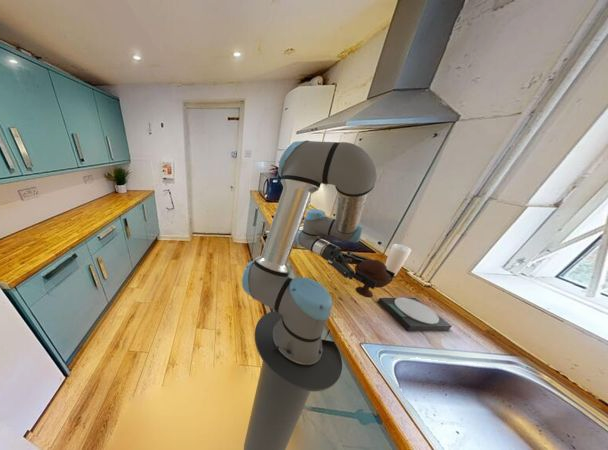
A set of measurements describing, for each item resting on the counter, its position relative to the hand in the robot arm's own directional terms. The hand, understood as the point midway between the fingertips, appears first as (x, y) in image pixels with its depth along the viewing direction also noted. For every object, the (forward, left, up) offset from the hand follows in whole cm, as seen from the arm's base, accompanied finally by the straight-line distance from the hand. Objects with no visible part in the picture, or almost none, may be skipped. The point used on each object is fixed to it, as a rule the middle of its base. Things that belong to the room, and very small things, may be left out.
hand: (384, 281), depth 69 cm
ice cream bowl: (-2, +3, -9) cm, 10 cm away
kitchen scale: (+15, -1, -15) cm, 22 cm away
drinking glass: (+29, +24, -16) cm, 41 cm away
